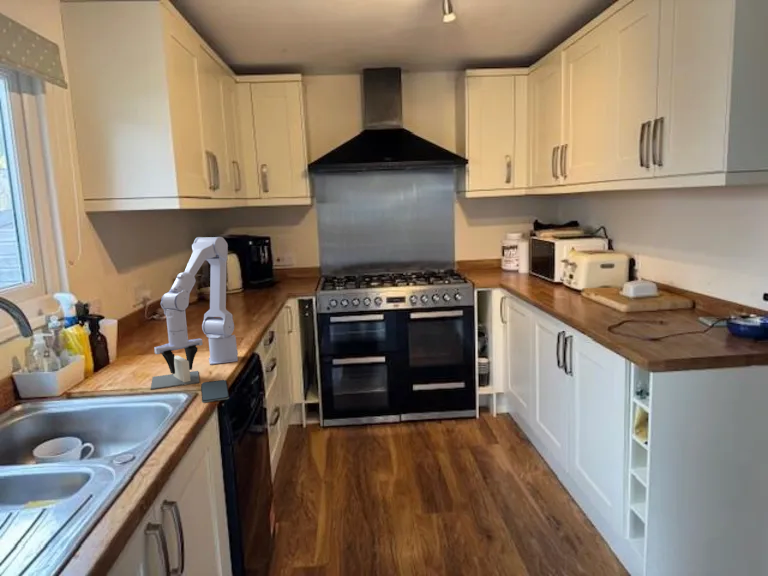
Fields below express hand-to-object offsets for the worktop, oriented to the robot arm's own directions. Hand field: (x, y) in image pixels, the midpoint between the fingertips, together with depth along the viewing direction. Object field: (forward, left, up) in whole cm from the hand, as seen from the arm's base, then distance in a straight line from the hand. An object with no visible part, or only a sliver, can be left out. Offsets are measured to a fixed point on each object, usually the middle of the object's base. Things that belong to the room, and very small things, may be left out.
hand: (181, 371), depth 171 cm
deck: (0, 0, -2) cm, 2 cm away
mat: (+2, 0, -3) cm, 3 cm away
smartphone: (-9, +17, -4) cm, 20 cm away
